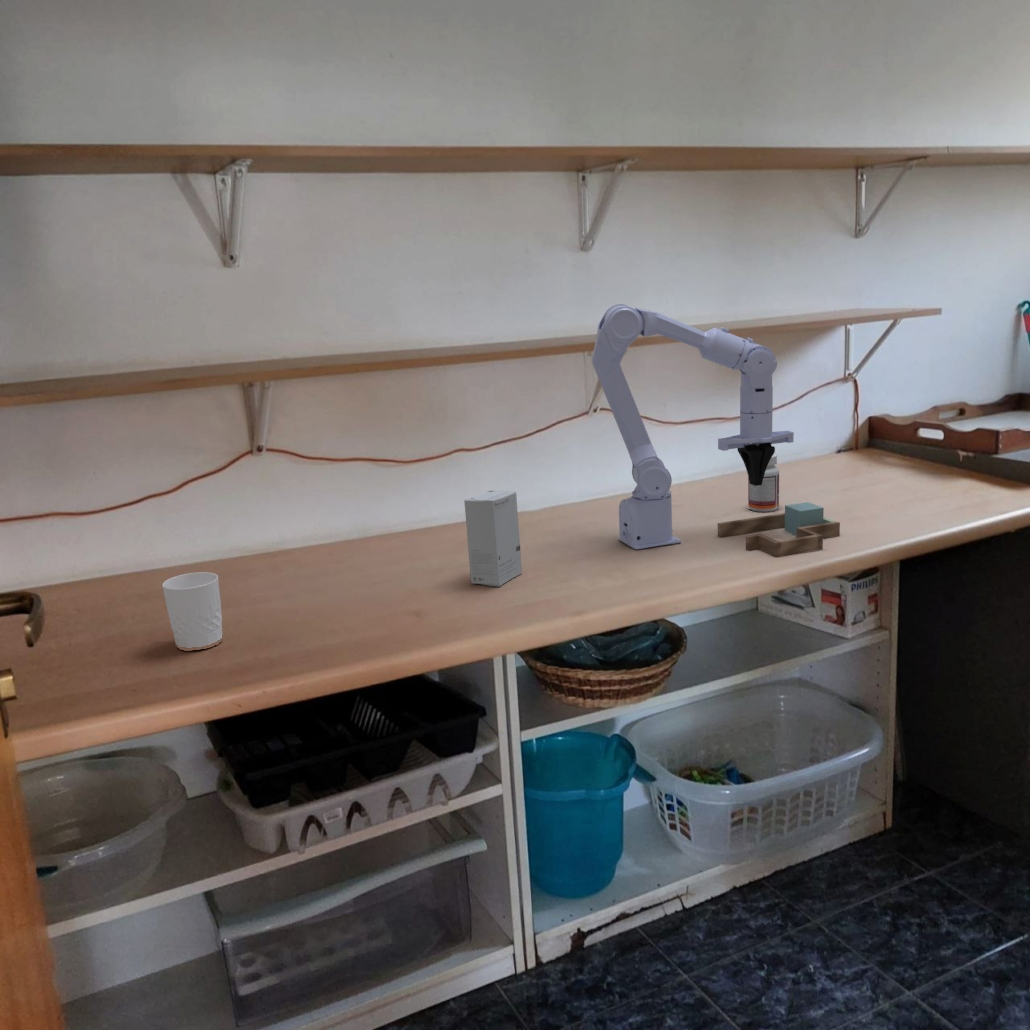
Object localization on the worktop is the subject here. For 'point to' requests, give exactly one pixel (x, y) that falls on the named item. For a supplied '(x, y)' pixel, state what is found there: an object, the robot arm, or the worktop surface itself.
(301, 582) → the worktop surface
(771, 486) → the pill bottle
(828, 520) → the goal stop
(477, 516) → the skincare box
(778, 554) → the brown frame
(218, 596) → the white cup
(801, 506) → the teal block
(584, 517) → the worktop surface
